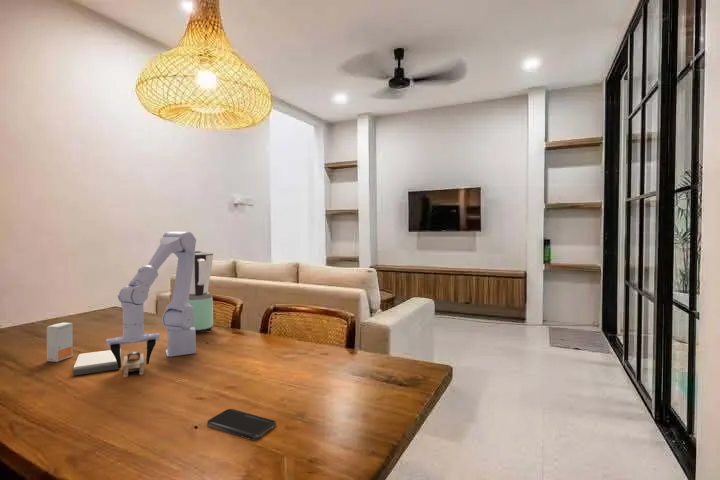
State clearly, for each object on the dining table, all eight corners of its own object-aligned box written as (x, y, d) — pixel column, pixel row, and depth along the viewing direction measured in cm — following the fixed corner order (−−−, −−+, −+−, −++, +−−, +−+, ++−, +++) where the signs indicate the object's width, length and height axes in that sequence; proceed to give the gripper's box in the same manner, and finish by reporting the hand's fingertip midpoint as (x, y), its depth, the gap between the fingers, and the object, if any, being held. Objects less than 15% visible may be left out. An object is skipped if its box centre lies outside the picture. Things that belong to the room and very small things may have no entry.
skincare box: (56, 362, 130) (56, 327, 130) (46, 361, 131) (45, 326, 131) (73, 356, 136) (73, 322, 136) (63, 355, 137) (63, 321, 137)
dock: (121, 355, 138) (120, 348, 138) (119, 369, 125) (119, 361, 125) (79, 361, 132) (79, 353, 132) (73, 376, 119) (73, 368, 119)
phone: (255, 437, 84) (205, 421, 91) (255, 442, 84) (205, 426, 91) (278, 421, 91) (229, 407, 98) (278, 426, 91) (229, 412, 98)
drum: (140, 356, 126) (140, 350, 126) (140, 360, 123) (140, 353, 123) (127, 358, 125) (127, 352, 124) (127, 362, 121) (127, 355, 121)
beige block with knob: (143, 364, 130) (143, 353, 130) (144, 374, 121) (143, 362, 121) (124, 366, 127) (124, 356, 127) (123, 377, 118) (123, 365, 118)
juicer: (176, 329, 173) (175, 250, 172) (207, 324, 181) (207, 250, 180) (186, 339, 158) (186, 253, 157) (220, 334, 166) (220, 252, 165)
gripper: (105, 328, 116) (105, 373, 117) (159, 323, 124) (160, 365, 124) (106, 323, 122) (107, 366, 123) (158, 318, 130) (158, 358, 130)
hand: (133, 365), depth 124 cm, fingers open, 7 cm apart
